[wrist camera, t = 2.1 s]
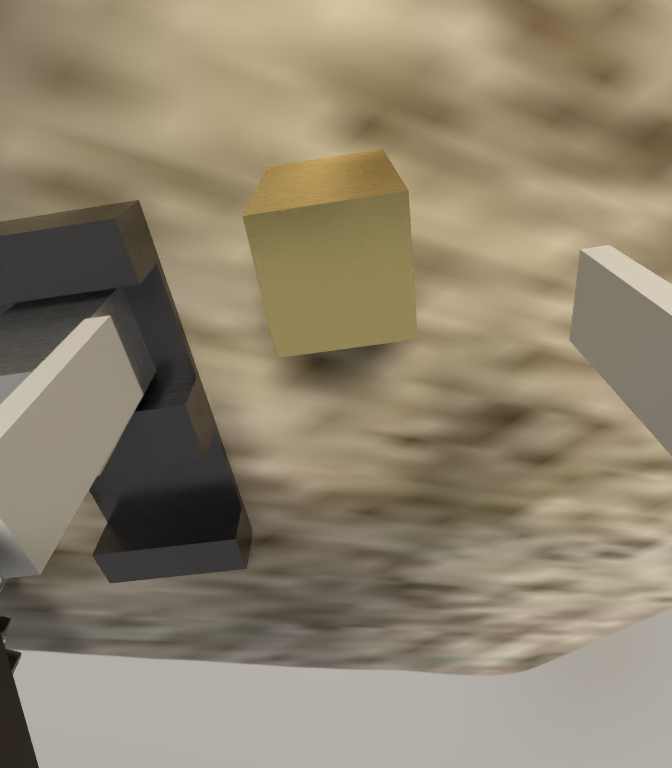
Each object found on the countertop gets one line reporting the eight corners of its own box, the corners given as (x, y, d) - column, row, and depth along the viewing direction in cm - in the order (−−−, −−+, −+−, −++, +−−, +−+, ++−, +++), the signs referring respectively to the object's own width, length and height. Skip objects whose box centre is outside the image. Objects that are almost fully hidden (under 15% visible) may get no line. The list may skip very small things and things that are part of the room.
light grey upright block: (22, 298, 24) (-93, 388, 18) (121, 283, 24) (42, 370, 17) (66, 383, 27) (-19, 490, 20) (156, 371, 27) (99, 475, 20)
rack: (-52, 229, 23) (-98, 251, 21) (138, 200, 22) (114, 218, 20) (125, 545, 35) (109, 583, 32) (252, 531, 34) (246, 568, 32)
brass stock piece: (267, 167, 22) (242, 215, 15) (382, 149, 22) (408, 190, 15) (290, 275, 25) (276, 357, 18) (392, 261, 24) (417, 339, 18)
